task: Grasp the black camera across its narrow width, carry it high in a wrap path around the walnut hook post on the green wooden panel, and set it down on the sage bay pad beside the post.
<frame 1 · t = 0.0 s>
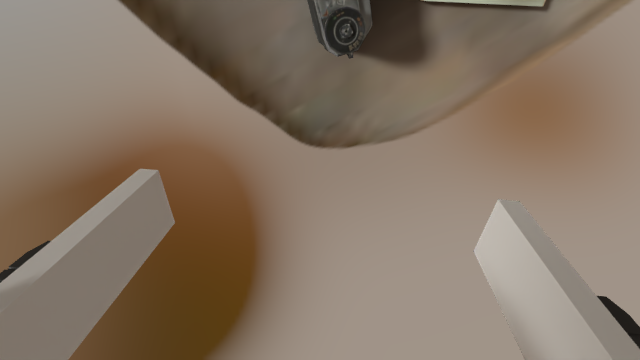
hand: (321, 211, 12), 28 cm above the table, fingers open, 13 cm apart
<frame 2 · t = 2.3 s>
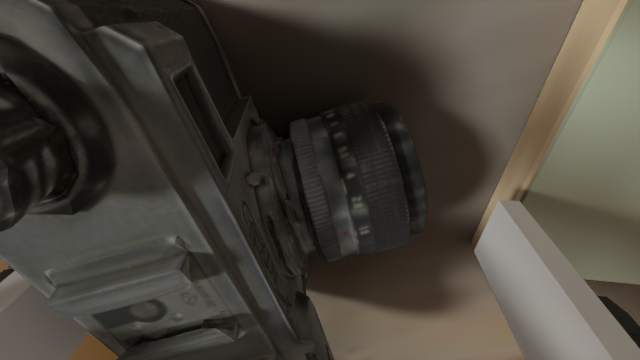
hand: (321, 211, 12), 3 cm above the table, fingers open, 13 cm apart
camera: (301, 168, 14), on the table, touching gripper
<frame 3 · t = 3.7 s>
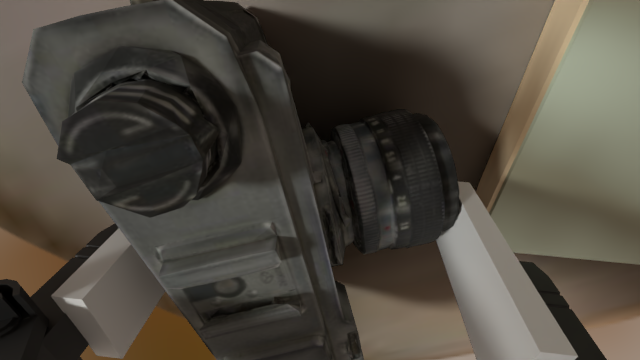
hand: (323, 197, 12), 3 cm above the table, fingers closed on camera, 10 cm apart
camera: (329, 168, 16), on the table, touching gripper
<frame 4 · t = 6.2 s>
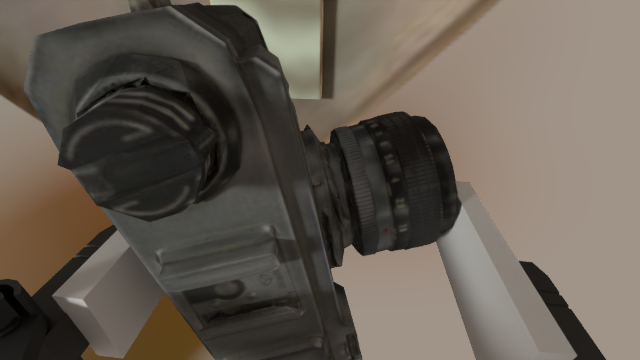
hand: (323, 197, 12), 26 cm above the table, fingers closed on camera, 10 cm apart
camera: (328, 169, 16), point 23 cm above the table, touching gripper
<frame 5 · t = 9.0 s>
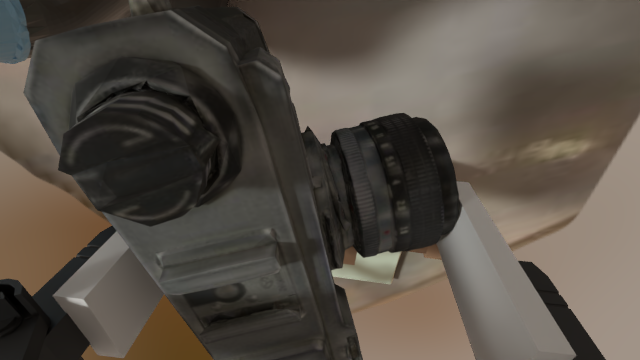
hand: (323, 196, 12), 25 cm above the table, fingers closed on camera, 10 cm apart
camera: (329, 171, 16), point 22 cm above the table, touching gripper
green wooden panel: (368, 218, 45), on the table
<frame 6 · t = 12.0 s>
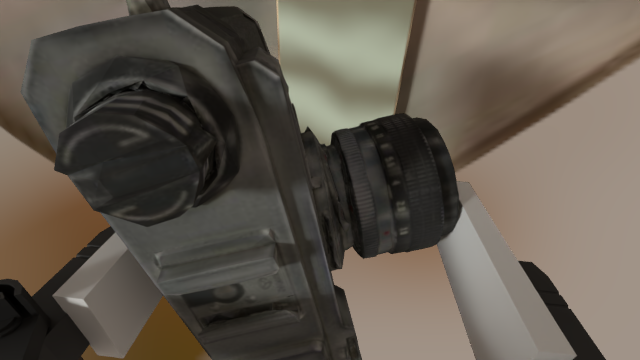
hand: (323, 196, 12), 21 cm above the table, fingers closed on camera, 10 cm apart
camera: (329, 171, 16), point 17 cm above the table, touching gripper
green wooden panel: (341, 57, 28), on the table
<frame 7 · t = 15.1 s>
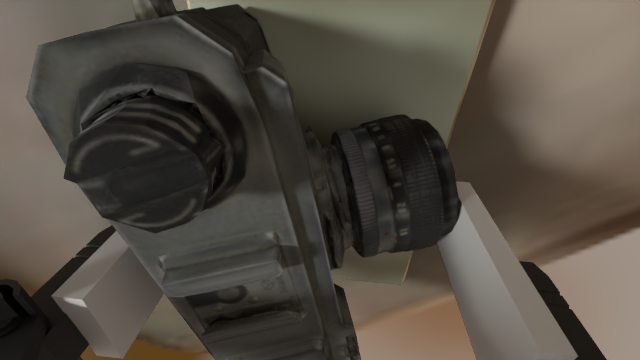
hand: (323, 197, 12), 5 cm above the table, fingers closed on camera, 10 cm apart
camera: (328, 169, 16), point 1 cm above the table, touching gripper, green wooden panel
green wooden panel: (330, 96, 15), on the table
when the fingers open (5 cm above the table, at t = 15.4 s): camera stays where it is, resting on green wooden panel.
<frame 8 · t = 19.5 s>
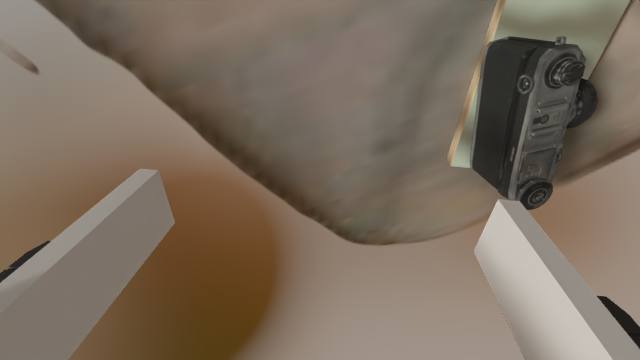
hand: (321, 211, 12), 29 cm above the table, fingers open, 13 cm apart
camera: (515, 106, 35), point 1 cm above the table, touching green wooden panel
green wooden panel: (527, 72, 34), on the table
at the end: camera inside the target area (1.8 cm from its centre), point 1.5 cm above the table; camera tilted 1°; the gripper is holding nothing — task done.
